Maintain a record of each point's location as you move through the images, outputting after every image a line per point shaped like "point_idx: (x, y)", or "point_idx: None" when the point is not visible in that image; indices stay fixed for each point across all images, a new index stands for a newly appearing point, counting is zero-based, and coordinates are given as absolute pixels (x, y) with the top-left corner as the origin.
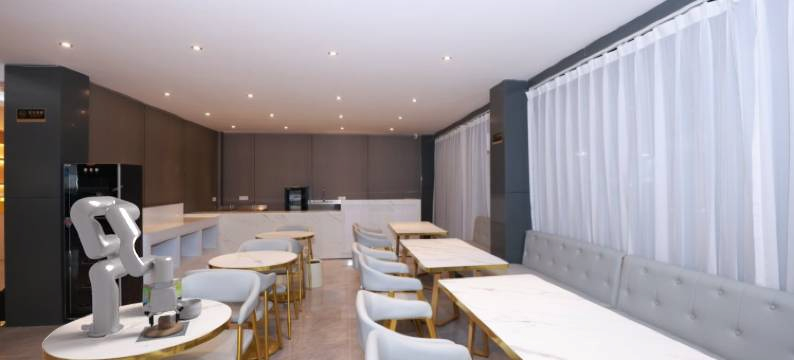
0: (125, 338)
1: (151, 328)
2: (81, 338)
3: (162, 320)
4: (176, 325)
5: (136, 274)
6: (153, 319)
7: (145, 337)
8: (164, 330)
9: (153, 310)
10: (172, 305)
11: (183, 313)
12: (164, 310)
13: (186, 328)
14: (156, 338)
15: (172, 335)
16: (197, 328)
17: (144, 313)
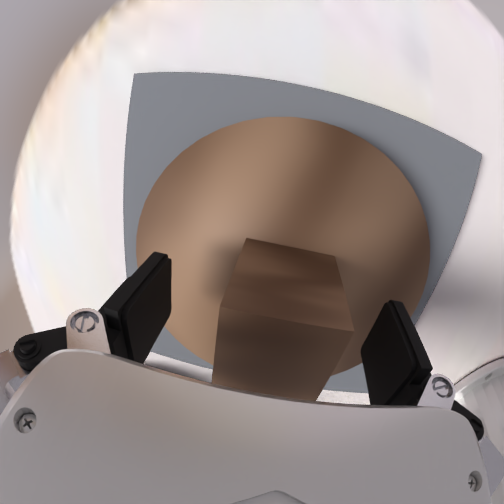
0: (482, 293)
1: (365, 332)
2: None
3: (300, 304)
4: (188, 290)
5: None
6: (372, 376)
7: (423, 210)
8: (284, 223)
9: (451, 439)
10: (47, 432)
11: None
12: (257, 411)
13: (128, 229)
14: (355, 122)
15: (222, 115)
16: (79, 212)
17: (477, 420)
